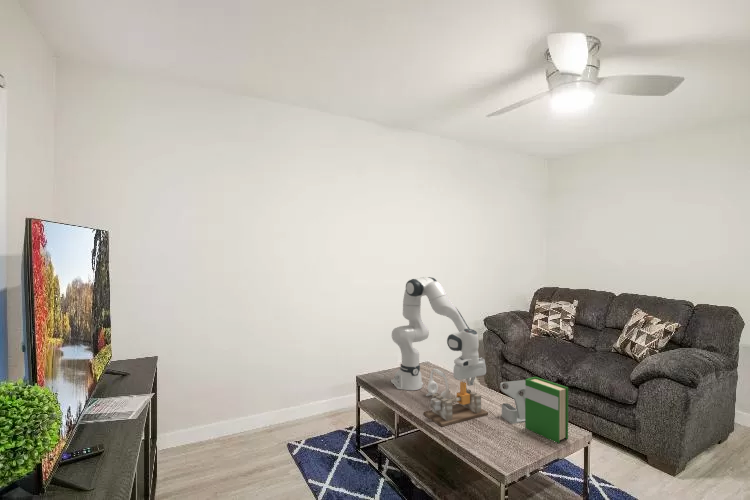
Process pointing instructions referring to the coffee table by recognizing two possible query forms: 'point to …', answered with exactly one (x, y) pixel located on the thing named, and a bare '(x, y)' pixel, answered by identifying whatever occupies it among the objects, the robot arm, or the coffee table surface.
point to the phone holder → (509, 411)
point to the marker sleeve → (463, 394)
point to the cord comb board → (454, 409)
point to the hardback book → (546, 408)
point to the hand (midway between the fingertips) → (470, 385)
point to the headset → (434, 387)
